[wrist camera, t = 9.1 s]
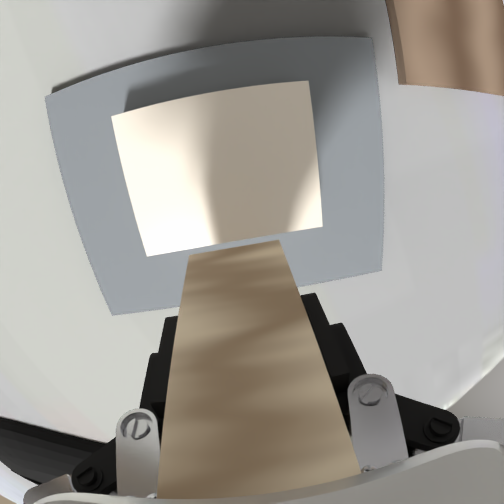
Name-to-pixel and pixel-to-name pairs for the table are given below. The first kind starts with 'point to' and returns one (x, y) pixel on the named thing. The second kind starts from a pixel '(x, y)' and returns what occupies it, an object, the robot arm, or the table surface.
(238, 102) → the tile
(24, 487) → the table surface
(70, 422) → the table surface
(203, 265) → the block
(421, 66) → the plate
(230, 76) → the mat
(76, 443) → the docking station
